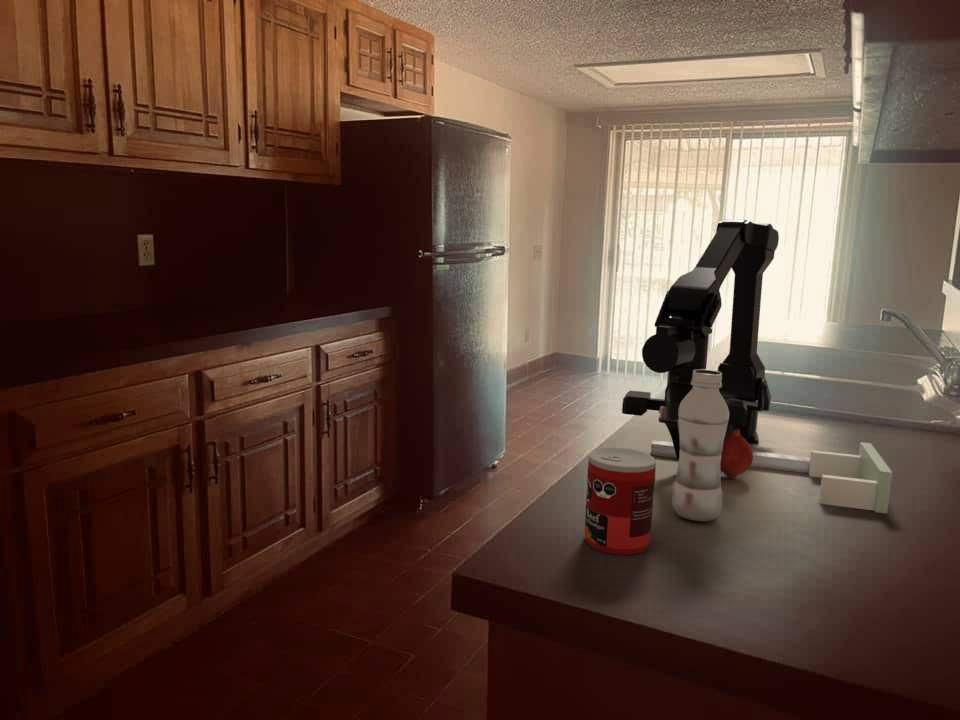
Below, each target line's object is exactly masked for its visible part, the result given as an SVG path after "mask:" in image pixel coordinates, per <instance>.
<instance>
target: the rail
mask: <svg viewBox="0 0 960 720" xmlns="http://www.w3.org/2000/svg"><path fill="white" fill-rule="evenodd" d="M651 441H652V442H651V446H650V455H651V456H656V457H657V456H659V457H666V458H675V459H677V457H676V453H675V450H674V446H673V442H672V441H667V440H664V441H663V440H658V439H657V440H656V439H655V440H654V439H652V440H651ZM752 451H753V461H752V464H751V465H750V467H749V468H759V469H760V468H761V469H769V470H778V471H786V472H794V473H801V474H802V473H803V474H808V473H809V465H810V457H808V456H801V455H792V454H782V453H773V452H763V451H755V450H752Z"/></svg>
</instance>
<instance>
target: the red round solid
mask: <svg viewBox="0 0 960 720" xmlns="http://www.w3.org/2000/svg"><path fill="white" fill-rule="evenodd" d="M753 451H754V450H753V448H752V446H751V444H750V442H747V441H746V440H745V439H744V438H743V437H742V436H741V435H740V430H739V429H735V430H734V431H733V432H731V433H730V434H728V435H726V436H725V437H724V441H723V449H722V453H721V473H724V475H726V476H727V477H728V478H729V479H735V478H737V477H738V476H740V475H742V474H743V473H745V472H746V471H747V470H749V468H751V467H750V465H751V464H752V461H753Z"/></svg>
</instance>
